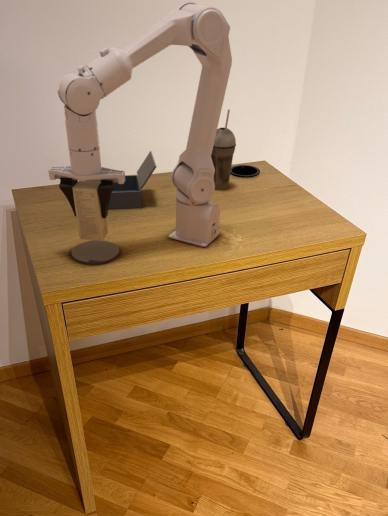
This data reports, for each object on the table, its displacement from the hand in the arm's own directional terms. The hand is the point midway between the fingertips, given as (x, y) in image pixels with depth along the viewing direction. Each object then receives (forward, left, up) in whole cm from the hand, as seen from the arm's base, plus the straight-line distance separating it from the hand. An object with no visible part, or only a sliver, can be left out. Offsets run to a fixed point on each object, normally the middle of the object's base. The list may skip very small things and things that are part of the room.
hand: (91, 215), depth 101 cm
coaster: (0, 0, -9) cm, 9 cm away
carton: (+13, -26, -9) cm, 30 cm away
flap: (+6, -31, -1) cm, 32 cm away
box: (0, 0, -5) cm, 5 cm away
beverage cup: (-7, -49, -9) cm, 50 cm away
